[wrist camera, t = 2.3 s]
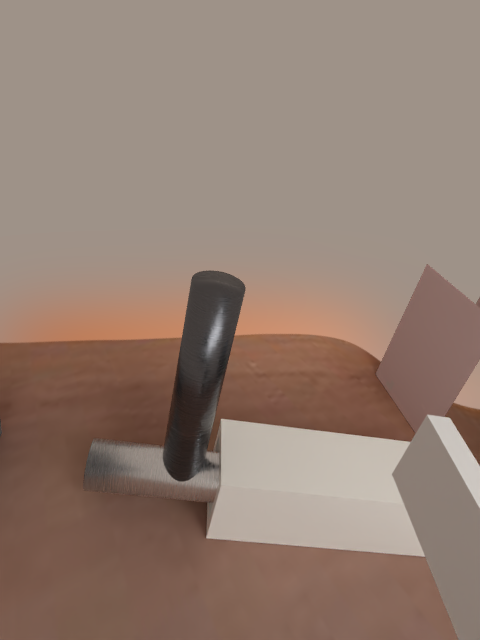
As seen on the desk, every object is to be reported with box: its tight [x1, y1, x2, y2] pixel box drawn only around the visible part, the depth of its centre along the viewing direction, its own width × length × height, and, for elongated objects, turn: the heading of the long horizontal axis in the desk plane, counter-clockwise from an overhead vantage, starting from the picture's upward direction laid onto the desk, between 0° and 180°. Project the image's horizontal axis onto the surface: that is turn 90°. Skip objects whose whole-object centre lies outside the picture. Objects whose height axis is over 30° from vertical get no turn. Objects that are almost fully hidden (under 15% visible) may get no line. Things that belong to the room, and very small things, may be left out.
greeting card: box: [376, 264, 480, 433], centre depth 46 cm, size 11×7×15 cm, turn 156°
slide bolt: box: [83, 271, 245, 503], centre depth 30 cm, size 26×4×18 cm, turn 92°
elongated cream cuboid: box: [206, 419, 425, 557], centre depth 34 cm, size 20×6×6 cm, turn 92°
